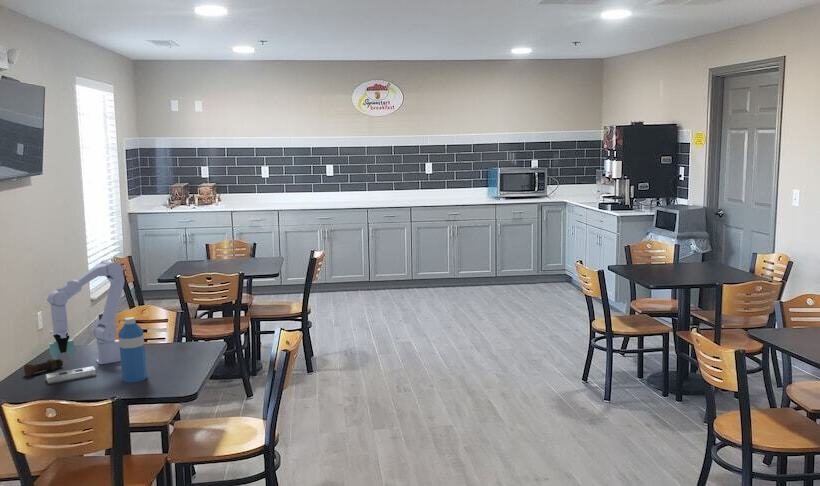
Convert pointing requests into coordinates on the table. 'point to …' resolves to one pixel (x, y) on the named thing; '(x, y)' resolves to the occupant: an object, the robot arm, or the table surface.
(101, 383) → the table surface
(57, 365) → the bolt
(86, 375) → the rail
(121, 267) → the robot arm
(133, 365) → the water bottle
